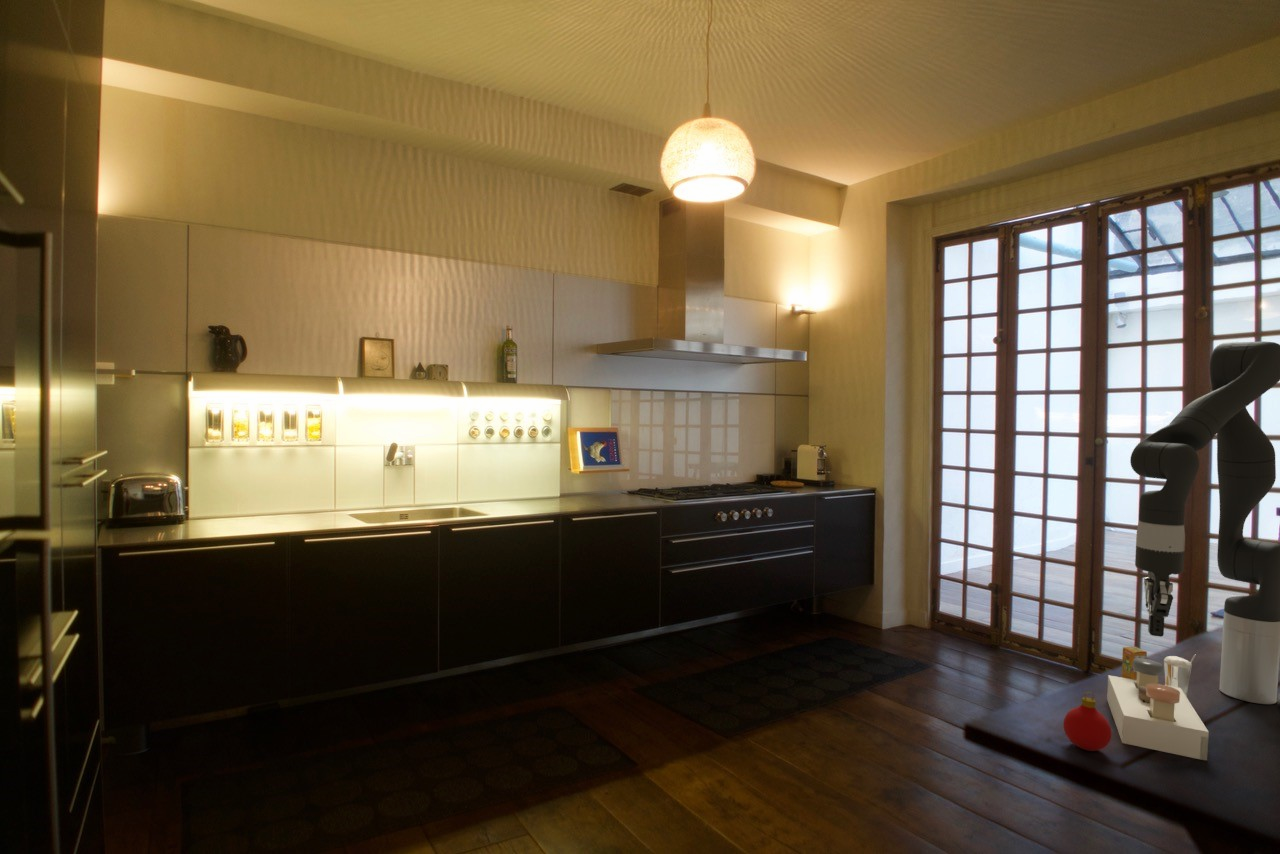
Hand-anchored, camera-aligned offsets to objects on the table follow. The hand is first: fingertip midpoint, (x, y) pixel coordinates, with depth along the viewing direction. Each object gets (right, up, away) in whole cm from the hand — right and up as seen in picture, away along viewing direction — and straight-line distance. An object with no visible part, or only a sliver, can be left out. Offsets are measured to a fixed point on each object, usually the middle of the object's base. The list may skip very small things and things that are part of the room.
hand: (1155, 634), depth 135 cm
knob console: (-3, -16, -3) cm, 17 cm away
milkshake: (+11, -17, +9) cm, 22 cm away
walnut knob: (-3, -16, -3) cm, 17 cm away
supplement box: (+3, -16, +11) cm, 20 cm away
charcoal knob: (0, -13, +3) cm, 13 cm away
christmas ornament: (-22, -16, -13) cm, 30 cm away
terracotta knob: (-7, -13, -10) cm, 18 cm away
